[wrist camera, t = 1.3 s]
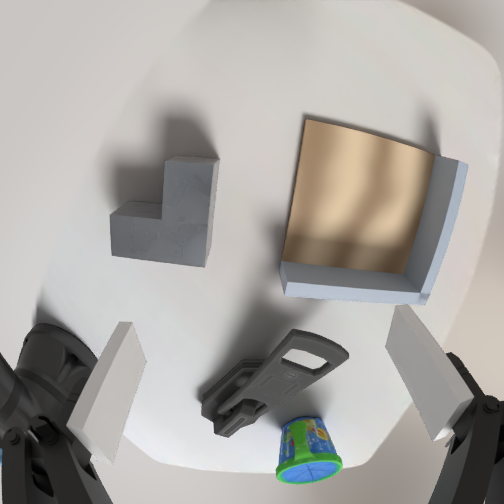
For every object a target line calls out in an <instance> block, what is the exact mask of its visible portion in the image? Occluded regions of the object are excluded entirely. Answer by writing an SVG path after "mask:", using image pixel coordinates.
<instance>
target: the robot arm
mask: <svg viewBox="0 0 504 504" xmlns="http://www.w3.org/2000/svg"><path fill="white" fill-rule="evenodd" d="M385 347H386V349H387V351H388V353H389V355H390V356H391V358H392V360H393V362H394V364H395V366H396V368H397V370H398V371H399V373H400V375H401V377H402V379H403V381H404V383H405V385H406V387H407V389H408V391H409V393H410V395H411V397H412V399H413V401H414V403H415V405H416V407H417V409H418V411H419V413H420V415H421V417H422V420H423V421H424V424H425V426H426V428H427V430H428V432H429V435H430V437H431V439H432V441H435V440H438V439H440V438H443V437H445V436H447V435H448V433H449V432H450V431H451V429H453V431H454V433H455V434H454V435H453V436H452V437H451V439H450V440H449V441H448V442H447V444H446V446H445V447H447V446H448V445H449V444H450V447H449V450H448V453H447V456H446V459H445V462H444V465H443V468H442V471H441V473H440V476H439V479H438V482H437V484H436V486H435V489H434V491H433V494H432V496H431V499H430V501H429V503H428V504H483V503H484V500H485V504H504V401H499V400H498V399H497V398H495V397H493V396H489V395H486V396H485V394H484V393H483V392H482V390H481V389H480V387H479V386H478V384H477V383H476V381H475V380H474V378H473V377H472V375H471V374H470V373H469V371H468V370H467V368H466V367H465V366H464V364H463V363H462V361H461V360H460V358H458V357H457V356H456V355H454V354H453V353H452V352H450V353H446V354H445V353H444V351H443V350H442V348H441V347H440V346H439V344H438V343H437V341H436V340H435V339H434V337H433V336H432V335H431V333H430V332H429V331H428V329H427V328H426V327H425V325H424V324H423V323H422V321H421V320H420V319H419V317H418V316H417V315H416V314H415V312H414V311H413V310H412V308H411V307H410V306H409V305H408V304H404V305H397V306H395V310H394V315H393V319H392V323H391V327H390V331H389V334H388V338H387V342H386V345H385ZM146 362H147V361H146V359H145V356H144V353H143V351H142V348H141V345H140V342H139V339H138V337H137V334H136V331H135V328H134V325H133V322H119V323H118V325H117V327H116V329H115V330H114V332H113V334H112V336H111V338H110V339H109V341H108V343H107V345H106V347H105V348H104V350H103V352H102V354H101V356H100V358H99V360H97V359H96V358H95V356H94V355H93V354H92V352H91V351H90V350H89V349H88V348H87V347H86V346H85V345H84V344H83V343H82V342H80V341H79V340H78V339H77V338H75V337H74V336H73V335H71V334H70V333H68V332H66V331H65V330H63V329H61V328H59V327H56V326H53V325H49V324H39V325H36V326H34V327H33V328H32V329H31V331H30V332H29V333H28V334H27V336H26V337H25V340H24V342H23V347H22V349H21V353H20V356H19V360H18V363H17V367H16V369H15V370H14V371H13V370H12V368H11V367H10V365H9V364H8V363H7V361H6V360H5V359H4V357H3V356H2V354H1V353H0V466H1V467H2V501H3V504H113V503H112V501H111V499H110V498H109V496H108V494H107V492H106V490H105V488H104V486H103V485H102V482H101V480H100V478H99V477H98V475H97V472H96V470H95V468H94V466H93V464H92V463H91V461H90V458H91V455H93V456H94V458H95V459H97V461H101V462H105V463H109V464H113V463H114V459H115V456H116V452H117V449H118V446H119V442H120V439H121V436H122V433H123V430H124V426H125V423H126V420H127V417H128V414H129V411H130V408H131V405H132V402H133V399H134V396H135V393H136V390H137V388H138V385H139V382H140V379H141V376H142V373H143V371H144V368H145V365H146ZM485 497H486V498H485Z"/></svg>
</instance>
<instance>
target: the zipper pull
mask: <svg viewBox="0 0 504 504" xmlns="http://www.w3.org/2000/svg"><path fill="white" fill-rule="evenodd" d="M290 349H298V350H303V351H306V352H309V353H311V354H314V355H316V356H319V357H321V358H324V359H325V360H326V361H327V362H326V363H325V364H324V365H323V366H321V367H320V368H316V369H311V368H308V367H305V366H302V365H300V364H297V363H294V362H292V361H289V360H287V359H284V358H282V357H283V356H284V355H285V354H286V353H287V352H288V351H289V350H290ZM347 359H349V353H348V352H347V351H346V350H345V349H344V348H343V347H342V346H341V345H339V344H337V343H335V342H334V341H332V340H329V339H327V338H325V337H323V336H320V335H317V334H314V333H311V332H307V331H302V330H297V329H292V330H291V331H290V332H289V333H288V335H287V336H286V337H285V338H284V339H283V340H282V342H281V343H280V344H279V345H278V346H277V347H276V348H275V350H274V351H273V352H272V353H271V355H270V356H269V357H268V358H267V359H266V360H242V361H241V362H240V363H238V364H237V365H236V366H235V367H234V368H233V369H232V370H231V371H230V372H229V373H228V374H227V375H226V376H225V377H223V378H222V379H221V380H220V381H219V382H218V383H217V384H216V385H215V386H214V387H212V388H211V389H210V390H209V391H208V392H206V393H205V394H204V395H203V400H202V410H201V415H202V416H203V417H205V418H207V419H208V420H210V421H212V422H213V423H214V433H215V434H217V435H220V436H224V437H227V438H229V437H230V436H231V435H233V434H234V433H235V432H236V431H238V430H239V429H240V428H242V427H245V426H247V425H250V424H253V423H255V421H256V420H257V419H258V418H259V417H260V416H262V415H263V414H265V413H266V412H268V411H269V410H271V409H272V408H274V407H275V406H277V405H279V404H280V403H282V402H284V401H285V400H287V399H289V398H290V397H292V396H294V395H295V394H297V393H299V392H300V391H302V390H303V389H305V388H306V387H308V386H309V385H311V384H313V383H314V382H316V381H317V380H319V379H320V378H322V377H323V376H325V375H326V374H328V373H329V372H331V371H332V370H334V369H335V368H336V367H338V366H339V365H341V364H342V363H343V362H345V361H346V360H347Z"/></svg>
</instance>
